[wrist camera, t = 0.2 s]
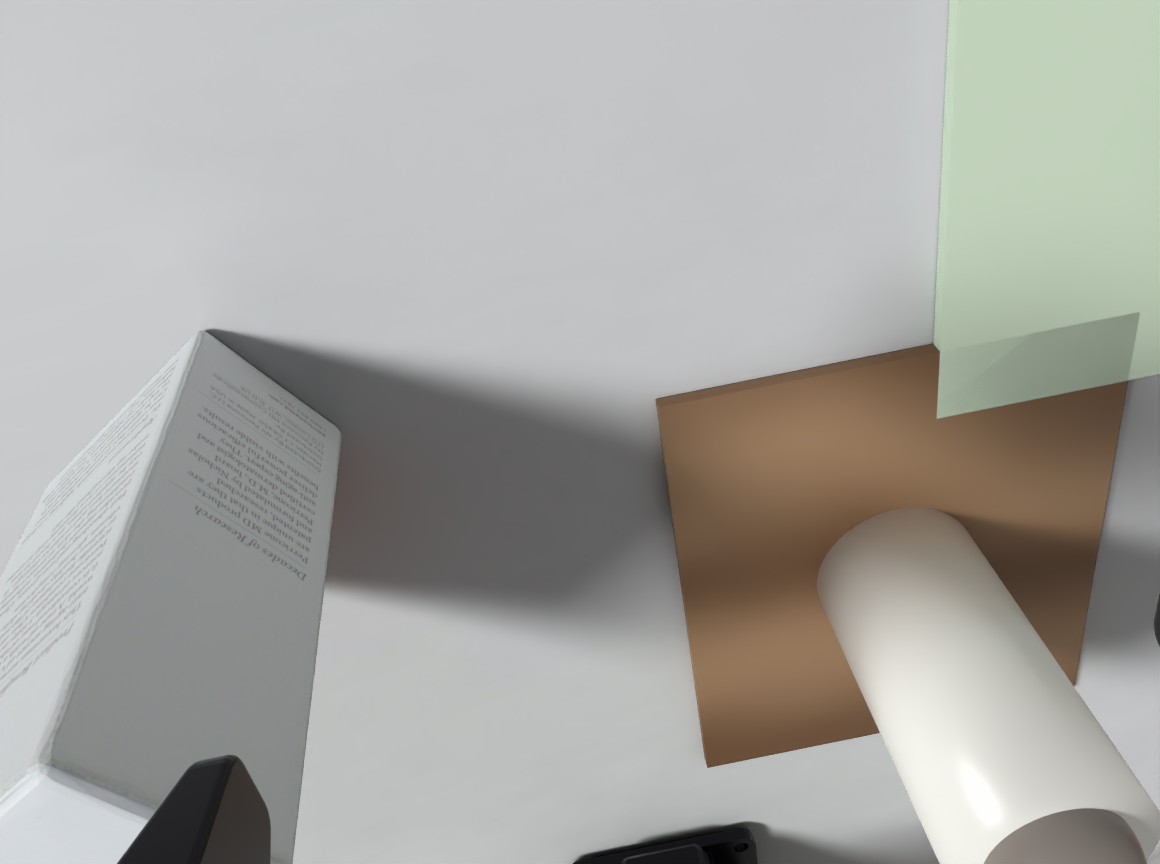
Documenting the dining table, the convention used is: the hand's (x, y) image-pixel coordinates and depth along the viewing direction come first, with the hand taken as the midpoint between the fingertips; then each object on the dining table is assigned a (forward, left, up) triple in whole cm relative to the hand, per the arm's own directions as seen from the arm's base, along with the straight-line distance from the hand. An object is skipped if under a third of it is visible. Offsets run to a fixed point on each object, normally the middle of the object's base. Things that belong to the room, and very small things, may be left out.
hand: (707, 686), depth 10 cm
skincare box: (-5, +10, -15) cm, 18 cm away
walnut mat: (-13, -7, -14) cm, 21 cm away
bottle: (-13, -7, -14) cm, 20 cm away
